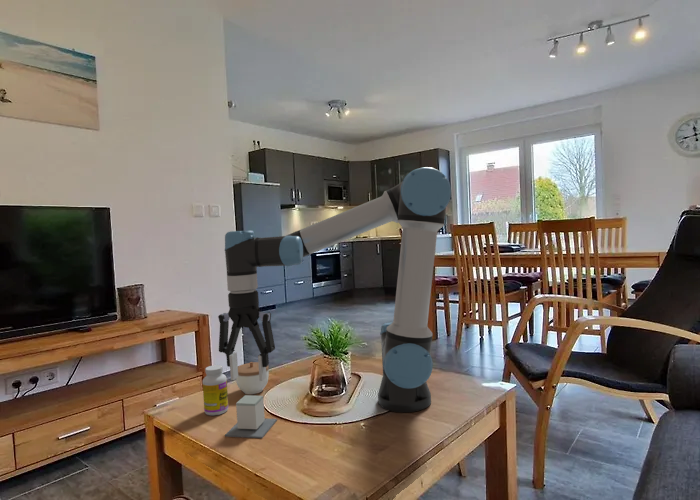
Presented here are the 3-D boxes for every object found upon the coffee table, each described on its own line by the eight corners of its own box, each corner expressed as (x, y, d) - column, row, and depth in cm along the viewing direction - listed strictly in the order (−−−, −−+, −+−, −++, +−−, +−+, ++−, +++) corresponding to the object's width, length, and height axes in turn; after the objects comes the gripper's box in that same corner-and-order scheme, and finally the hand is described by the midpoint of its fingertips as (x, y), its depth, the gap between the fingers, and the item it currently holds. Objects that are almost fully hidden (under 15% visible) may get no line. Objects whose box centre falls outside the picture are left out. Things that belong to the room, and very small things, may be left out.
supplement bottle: (221, 416, 120) (218, 371, 119) (200, 416, 121) (196, 371, 121) (232, 407, 127) (229, 363, 126) (212, 406, 128) (209, 363, 127)
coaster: (277, 420, 116) (277, 418, 116) (262, 438, 106) (262, 436, 106) (242, 418, 118) (242, 417, 118) (225, 436, 108) (224, 434, 108)
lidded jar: (276, 389, 139) (275, 360, 139) (249, 400, 131) (247, 369, 131) (256, 382, 146) (255, 355, 146) (229, 392, 138) (227, 363, 138)
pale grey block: (264, 420, 114) (263, 395, 114) (256, 429, 109) (255, 403, 109) (246, 419, 115) (245, 395, 115) (237, 428, 110) (236, 403, 110)
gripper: (285, 287, 112) (290, 374, 113) (214, 289, 116) (220, 373, 117) (274, 292, 105) (280, 384, 106) (199, 294, 109) (205, 383, 110)
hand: (248, 378), depth 111 cm, fingers open, 7 cm apart
